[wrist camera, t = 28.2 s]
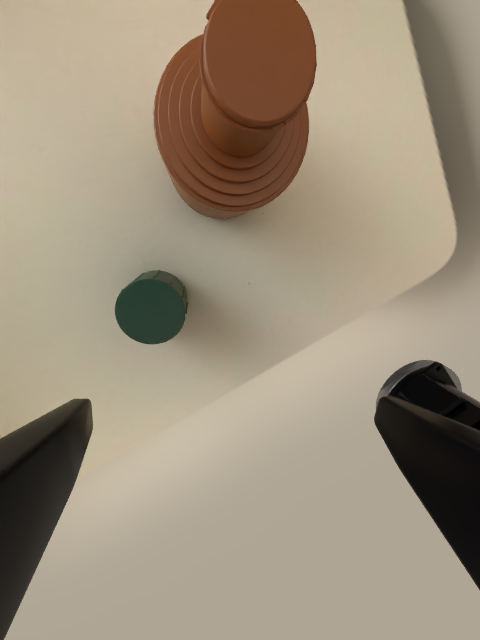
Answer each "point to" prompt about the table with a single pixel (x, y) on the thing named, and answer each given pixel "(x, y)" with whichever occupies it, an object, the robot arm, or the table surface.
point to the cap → (152, 307)
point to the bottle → (237, 106)
